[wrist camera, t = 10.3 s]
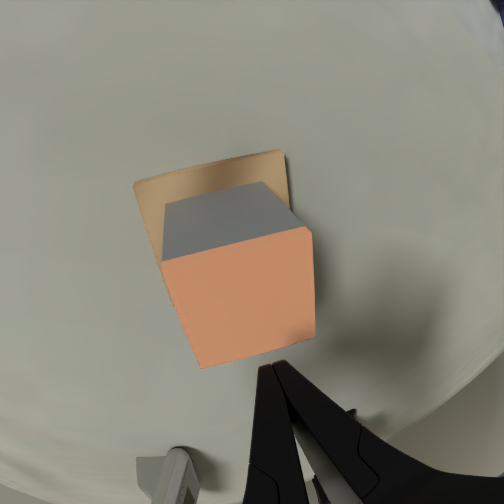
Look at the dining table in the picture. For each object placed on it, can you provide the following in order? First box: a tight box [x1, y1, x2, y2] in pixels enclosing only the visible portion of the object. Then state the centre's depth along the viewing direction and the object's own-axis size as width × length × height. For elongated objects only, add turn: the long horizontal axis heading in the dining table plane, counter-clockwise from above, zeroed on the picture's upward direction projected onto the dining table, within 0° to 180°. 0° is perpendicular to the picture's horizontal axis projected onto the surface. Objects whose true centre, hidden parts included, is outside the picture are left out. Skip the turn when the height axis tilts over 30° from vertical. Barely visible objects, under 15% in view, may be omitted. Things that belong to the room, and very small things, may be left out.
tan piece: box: [133, 150, 290, 307], centre depth 15 cm, size 8×8×6 cm
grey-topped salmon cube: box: [162, 181, 315, 369], centre depth 14 cm, size 5×5×7 cm
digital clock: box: [136, 448, 200, 504], centre depth 27 cm, size 16×9×11 cm, turn 166°
